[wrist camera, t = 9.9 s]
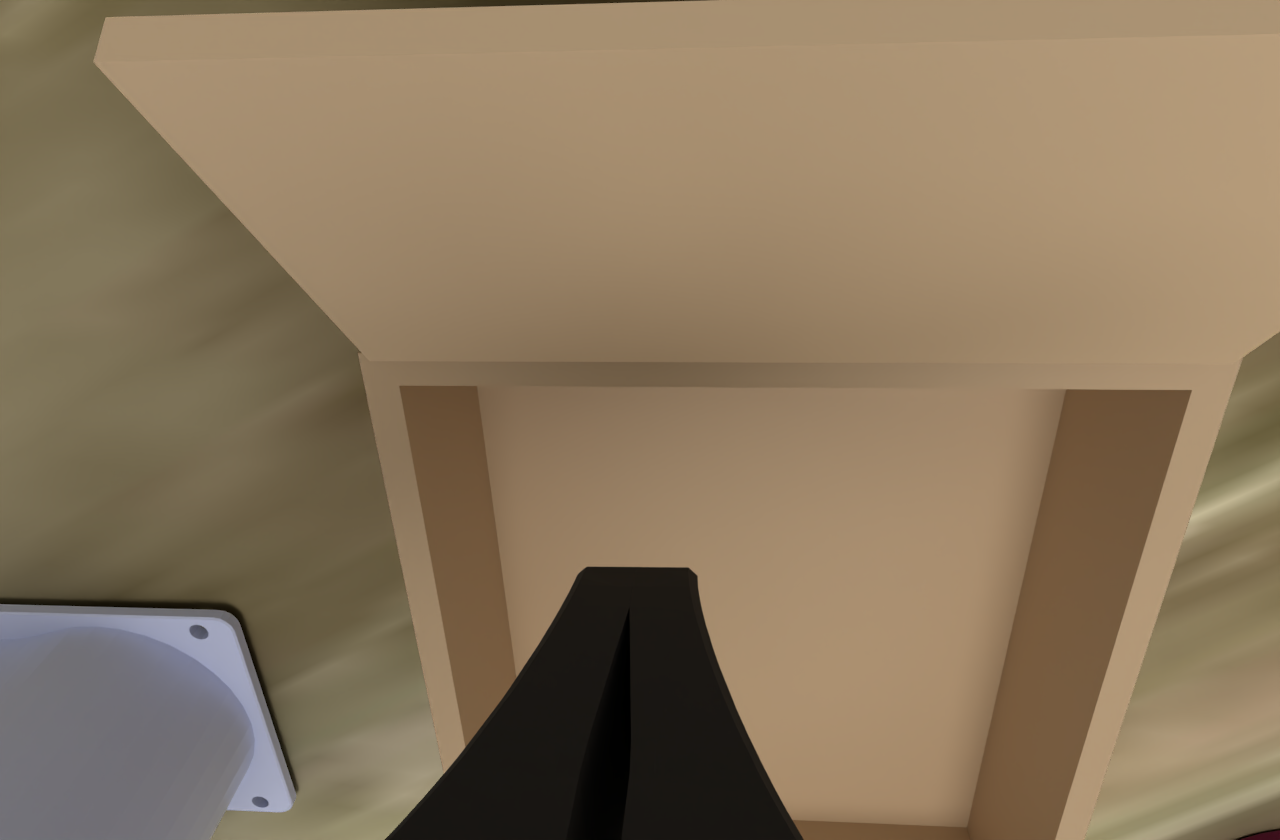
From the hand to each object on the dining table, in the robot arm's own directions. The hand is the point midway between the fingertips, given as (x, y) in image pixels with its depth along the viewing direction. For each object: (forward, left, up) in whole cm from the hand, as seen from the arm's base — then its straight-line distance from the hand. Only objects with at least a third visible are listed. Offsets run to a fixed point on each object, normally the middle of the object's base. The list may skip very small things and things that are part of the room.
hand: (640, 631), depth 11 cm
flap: (+2, +4, -2) cm, 5 cm away
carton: (+2, -8, -10) cm, 13 cm away
